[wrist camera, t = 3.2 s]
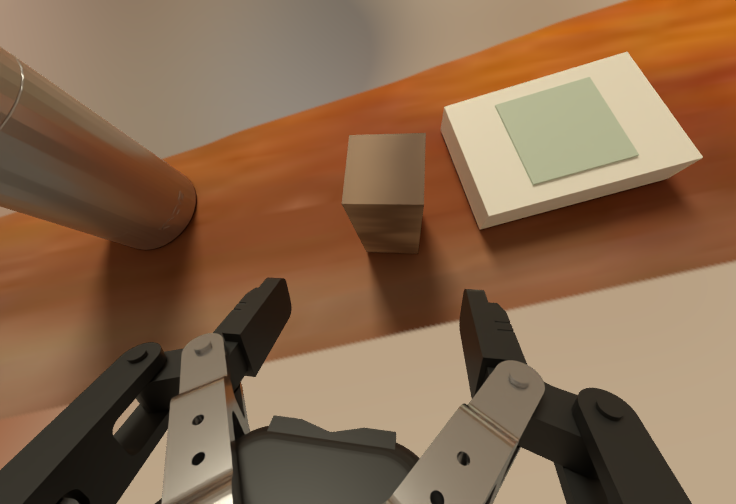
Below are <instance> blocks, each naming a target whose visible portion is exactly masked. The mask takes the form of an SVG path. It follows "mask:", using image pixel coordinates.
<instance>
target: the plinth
mask: <svg viewBox="0 0 736 504" xmlns="http://www.w3.org/2000/svg"><path fill="white" fill-rule="evenodd" d="M441 132H442V135H443V137H444V140H445V142H446V145H447V148H448V150H449V153H450V155H451V158H452V160H453V163H454V165H455V168H456V171H457V173H458V176H459V178H460V181H461V183H462V186H463V188H464V191H465V194H466V196H467V199H468V201H469V204H470V206H471V209H472V212H473V214H474V217H475V219H476V222H477V224H478V227H479V229H484V228H488V227H491V226H495V225H499V224H502V223H506V222H510V221H514V220H517V219H521V218H525V217H528V216H532V215H536V214H539V213H543V212H547V211H550V210H554V209H558V208H561V207H565V206H569V205H572V204H576V203H580V202H584V201H587V200H591V199H595V198H598V197H602V196H606V195H609V194H613V193H617V192H620V191H624V190H628V189H631V188H635V187H639V186H642V185H646V184H650V183H654V182H657V181H661V180H665V179H668V178H670V177H671V176H673V175H675V174H676V173H678V172H680V171H681V170H683V169H685V168H686V167H688V166H690V165H691V164H693V163H695V162H696V161H698V160H700V159H701V158H703V157H702V155H701V154H700V153H699V151H698V150H697V148H696V147H695V146H694V144H693V143H692V141H691V140H690V139H689V137H688V136H687V134H686V133H685V132H684V130H683V129H682V127H681V126H680V125H679V123H678V122H677V120H676V119H675V118H674V116H673V115H672V113H671V112H670V111H669V109H668V108H667V106H666V105H665V104H664V102H663V101H662V99H661V98H660V97H659V95H658V94H657V92H656V91H655V90H654V88H653V87H652V85H651V84H650V83H649V81H648V80H647V79H646V77H645V76H644V74H643V73H642V72H641V70H640V69H639V67H638V66H637V65H636V63H635V62H634V60H633V59H632V58H631V56H630V55H629V53H628V52H625V53H621V54H618V55H615V56H611V57H608V58H605V59H601V60H598V61H595V62H591V63H588V64H585V65H582V66H578V67H575V68H572V69H568V70H565V71H562V72H558V73H555V74H552V75H548V76H545V77H542V78H538V79H535V80H532V81H528V82H525V83H522V84H519V85H515V86H512V87H509V88H505V89H502V90H499V91H495V92H492V93H489V94H485V95H482V96H479V97H475V98H472V99H469V100H466V101H462V102H459V103H456V104H452V105H449V106H446V107H444V112H443V118H442V125H441Z"/></svg>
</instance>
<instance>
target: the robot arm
mask: <svg viewBox="0 0 736 504" xmlns="http://www.w3.org/2000/svg"><path fill="white" fill-rule="evenodd" d="M195 204H196V194H195V190H194V187H193V185H192V183H191V181H190V180H189V179H188V178H187V177H186V176H185V175H183V174H182V173H180V172H179V171H177V170H176V169H175V168H173V167H172V166H170V165H169V164H167V163H166V162H165V161H163V160H162V159H160V158H159V157H157V156H156V155H155V154H153V153H152V152H151V151H149V150H148V149H146V148H145V147H143V146H142V145H140V144H139V143H138V142H136V141H135V140H133V139H132V138H131V137H129V136H127V135H126V134H125V133H123V132H122V131H121V130H119V129H118V128H116V127H115V126H113V125H112V124H111V123H109V122H108V121H106V120H105V119H103V118H102V117H101V116H99V115H98V114H96V113H95V112H93V111H92V110H91V109H89V108H88V107H86V106H85V105H83V104H82V103H81V102H79V101H78V100H76V99H75V98H74V97H72V96H71V95H69V94H68V93H66V92H65V91H64V90H62V89H61V88H59V87H58V86H57V85H55V84H54V83H52V82H51V81H49V80H48V79H47V78H45V77H44V76H42V75H41V74H39V73H38V72H37V71H35V70H34V69H32V68H31V67H29V66H28V65H27V64H25V63H23V62H22V61H21V60H19V59H18V58H17V57H15V56H14V55H12V54H11V53H9V52H8V51H6V50H5V49H3V48H2V47H0V206H1V207H4V208H7V209H10V210H14V211H17V212H20V213H23V214H27V215H30V216H33V217H36V218H39V219H43V220H46V221H49V222H52V223H56V224H59V225H62V226H65V227H69V228H72V229H75V230H78V231H81V232H85V233H88V234H91V235H94V236H97V237H100V238H104V239H107V240H110V241H113V242H117V243H120V244H123V245H126V246H130V247H133V248H136V249H142V250H149V249H155V248H158V247H161V246H164V245H165V244H167V243H169V242H171V241H172V240H173V239H175V238H176V237H177V236H178V235H179V234H180V233H181V232H182V231H183V230H184V229H185V228H186V226H187V225H188V223H189V221H190V220H191V217H192V215H193V213H194V209H195ZM290 314H291V301H290V296H289V292H288V287H287V283H286V280H285V279H284V278H266V279H265V281H264V282H263V283H262V284H261V286H260V287H259V288H255V289H253V290H252V291H250V292H249V293H247V294H246V295H245V296H244V297H243V298H242V299H241V301H240V302H239V304H237V305H236V306H235V308H234V310H232V311H231V312H230V313H229V315H228V316H227V317H226V318H225V319H224V320H223V322H222V323H221V324H220V325H219V326H218V327H217V329H216V330H215V331H214V332H213V333H208V334H204V335H201V336H199V337H197V338H195V339H193V340H192V341H190V342H189V343H188V344H187V345H186V346H185V348H184V349H178V350H172V351H166V352H163V350H162V348H161V346H160V345H159V344H158V343H154V342H149V343H144V344H141V345H138V346H136V347H134V348H132V349H130V350H128V351H127V352H125V353H124V354H123V355H122V356H121V357H119V358H118V359H117V360H116V361H115V362H114V363H113V364H112V365H111V366H110V367H109V368H108V369H107V370H106V371H105V372H104V373H103V374H101V375H100V376H99V377H98V378H97V379H96V380H95V381H94V382H93V383H92V384H91V385H90V386H89V387H88V388H87V389H86V390H85V391H84V392H82V393H81V394H80V395H79V396H78V397H77V398H76V399H75V400H74V401H73V402H72V403H71V404H70V405H69V406H68V407H67V408H66V409H64V410H63V411H62V412H61V413H60V414H59V415H58V416H57V417H56V418H55V419H54V420H53V421H52V422H51V423H50V424H49V425H48V426H47V427H45V428H44V429H43V430H42V431H41V432H40V433H39V434H38V435H37V436H36V437H35V438H34V439H33V440H32V441H31V442H30V443H29V444H27V445H26V446H25V447H24V448H23V449H22V450H21V451H20V452H19V453H18V454H17V455H16V456H15V457H14V458H13V459H12V460H11V461H10V462H8V463H7V464H6V465H5V466H4V467H3V468H2V469H1V470H0V504H116V503H117V502H118V500H119V499H120V498H121V496H122V495H123V493H124V492H125V490H126V489H127V487H128V486H129V484H130V483H131V481H132V480H133V479H134V477H135V476H136V474H137V473H138V471H139V470H140V468H141V467H142V466H143V464H144V463H145V461H146V460H147V458H148V457H149V455H150V453H151V452H152V451H153V450H154V448H155V447H156V445H157V444H158V442H159V441H160V439H161V438H162V436H163V435H164V433H165V432H166V430H167V429H168V437H167V447H166V458H165V470H164V481H163V493H162V499H160V500H159V501H158V502H157V503H155V504H493V501H494V499H495V497H496V495H497V493H498V491H499V489H500V487H501V485H502V483H503V481H504V479H505V477H506V475H507V473H508V471H509V469H510V467H511V466H512V464H513V462H514V460H515V458H516V456H517V454H518V452H519V450H520V448H521V447H522V448H524V449H526V450H529V451H531V452H533V453H535V454H537V455H540V456H542V457H544V458H546V459H548V460H551V461H553V462H554V465H555V467H556V471H557V474H558V477H559V480H560V484H561V487H562V490H563V493H564V496H565V500H566V503H567V504H692V503H691V501H690V500H689V498H688V496H687V495H686V493H685V492H684V490H683V488H682V487H681V485H680V484H679V482H678V480H677V479H676V477H675V475H674V474H673V472H672V471H671V469H670V467H669V466H668V464H667V462H666V461H665V459H664V458H663V456H662V454H661V453H660V451H659V449H658V448H657V446H656V445H655V443H654V441H653V440H652V438H651V436H650V435H649V433H648V432H647V430H646V429H645V427H644V425H643V423H642V422H641V420H640V419H639V417H638V415H637V414H636V413H635V411H634V410H633V409H632V408H631V407H630V406H629V405H628V404H627V403H626V402H625V401H623V400H622V399H621V398H619V397H618V396H616V395H614V394H612V393H610V392H608V391H605V390H602V389H597V388H586V389H583V390H581V391H580V392H579V394H578V395H575V394H573V393H570V392H567V391H564V390H561V389H558V388H556V387H553V386H551V385H549V384H547V383H545V382H544V381H543V380H542V378H541V376H540V375H539V374H538V373H537V372H536V371H535V370H534V369H533V368H531V367H530V366H528V365H527V363H526V360H525V358H524V356H523V353H522V351H521V348H520V345H519V343H518V340H517V338H516V335H515V333H514V332H513V328H512V326H511V324H510V321H509V318H508V316H507V313H506V312H505V311H504V310H503V308H502V307H501V306H500V305H499V304H498V303H488V300H487V297H486V294H485V292H484V290H472V289H465V290H464V293H463V300H462V306H461V313H460V334H461V340H462V345H463V352H464V357H465V363H466V369H467V374H468V380H469V386H470V391H471V397H472V400H471V401H470V403H469V404H468V405H466V404H462V405H461V406H460V407H459V408H458V410H457V411H456V412H455V413H454V415H453V416H452V417H451V419H450V420H449V421H448V422H447V424H446V425H445V427H444V428H443V429H442V430H441V432H440V433H439V434H438V436H437V437H436V438H435V440H434V441H433V442H432V443H431V445H430V446H429V447H428V449H427V450H426V451H425V453H424V454H423V455H422V457H421V458H419V457H418V456H417V455H415V454H414V453H413V452H412V451H410V450H409V449H407V448H405V447H404V446H402V445H400V444H398V443H396V432H391V431H384V430H377V429H369V428H360V429H352V430H345V431H337V432H329V431H326V430H324V429H322V428H320V427H317V426H316V425H313V424H311V423H309V422H307V421H304V420H302V419H296V418H289V417H281V416H273V418H272V421H271V423H270V425H269V426H266V427H262V428H259V429H256V430H253V431H251V432H250V429H249V424H248V419H247V414H246V406H245V400H244V394H243V388H242V384H241V380H242V379H243V377H244V376H252V377H256V375H257V373H258V371H259V370H260V368H261V366H262V364H263V363H264V361H265V359H266V358H267V356H268V354H269V352H270V351H271V349H272V347H273V345H274V344H275V342H276V340H277V338H278V337H279V335H280V333H281V331H282V330H283V328H284V326H285V324H286V323H287V321H288V319H289V317H290ZM135 398H136V399H137V400H138V402H139V403H140V404H139V406H138V407H137V408H136V409H135V410H134V412H133V413H132V414H131V415H130V416H129V418H128V419H127V420H126V421H125V423H124V424H123V425H122V426H121V427H120V428H119V430H118V431H117V432H116V433H115V434H114V436H113V434H112V430H113V427H114V424H115V422H116V421H117V419H118V418H119V417H120V416H121V414H122V413H123V412H124V411H125V410H126V409H127V408H128V406H129V405H130V404H131V403H132V402H133V400H134V399H135Z"/></svg>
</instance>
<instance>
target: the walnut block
mask: <svg viewBox="0 0 736 504" xmlns="http://www.w3.org/2000/svg"><path fill="white" fill-rule="evenodd" d="M425 137H426V133H412V134H377V135H349V143H348V152H347V161H346V170H345V179H344V188H343V197H342V205H343V207H344V209H345V211H346V213H347V215H348V217H349V219H350V221H351V223H352V225H353V226H354V228H355V230H356V232H357V234H358V236H359V238H360V240H361V242H362V244H363V246H364V248H365V250H366V252H385V253H413V254H418V249H419V240H420V232H421V224H422V215H423V207H424V176H425Z"/></svg>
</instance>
